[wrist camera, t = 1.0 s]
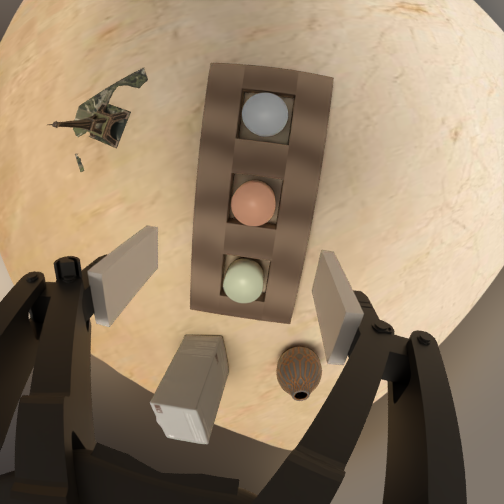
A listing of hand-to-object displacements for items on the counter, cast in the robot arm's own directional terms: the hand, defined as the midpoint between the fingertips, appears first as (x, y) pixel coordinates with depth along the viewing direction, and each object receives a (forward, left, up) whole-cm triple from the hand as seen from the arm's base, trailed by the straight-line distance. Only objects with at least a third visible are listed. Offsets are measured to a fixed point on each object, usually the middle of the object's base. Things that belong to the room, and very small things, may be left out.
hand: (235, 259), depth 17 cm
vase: (+24, +10, -20) cm, 33 cm away
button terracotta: (0, 0, -18) cm, 18 cm away
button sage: (+10, 0, -18) cm, 21 cm away
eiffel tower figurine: (-9, -21, -20) cm, 31 cm away
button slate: (-10, 0, -18) cm, 21 cm away
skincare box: (+26, -5, -20) cm, 33 cm away
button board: (0, 0, -20) cm, 20 cm away
